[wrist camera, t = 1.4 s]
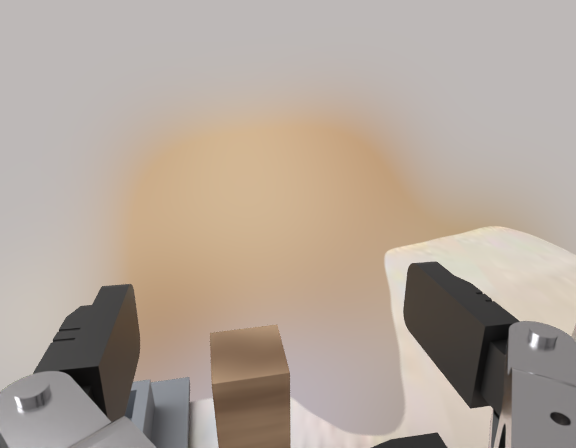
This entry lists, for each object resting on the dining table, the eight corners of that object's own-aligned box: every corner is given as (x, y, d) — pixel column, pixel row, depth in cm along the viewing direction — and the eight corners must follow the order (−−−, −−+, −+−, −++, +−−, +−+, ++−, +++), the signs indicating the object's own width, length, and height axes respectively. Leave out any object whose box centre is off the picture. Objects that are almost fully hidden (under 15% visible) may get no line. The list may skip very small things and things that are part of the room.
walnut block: (224, 472, 34) (210, 333, 28) (280, 462, 34) (277, 324, 29) (228, 533, 30) (211, 384, 24) (290, 520, 30) (289, 372, 25)
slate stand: (39, 404, 40) (27, 372, 38) (190, 383, 42) (185, 351, 41) (-34, 575, 27) (-56, 538, 26) (185, 531, 30) (179, 494, 28)
